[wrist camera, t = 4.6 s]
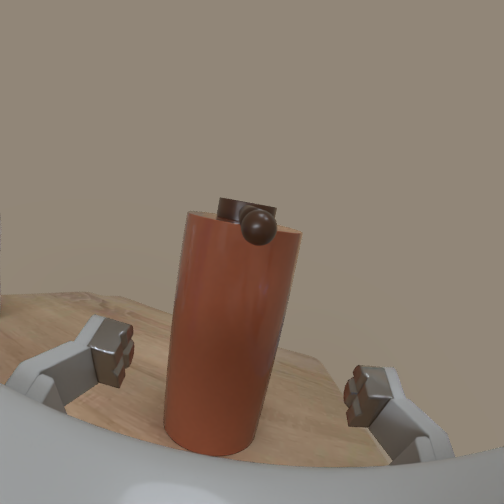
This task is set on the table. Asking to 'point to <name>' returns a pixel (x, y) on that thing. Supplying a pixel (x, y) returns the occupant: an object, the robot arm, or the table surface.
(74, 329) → the table surface
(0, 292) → the juice carton
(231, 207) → the brown disc-ended rod
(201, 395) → the canister
